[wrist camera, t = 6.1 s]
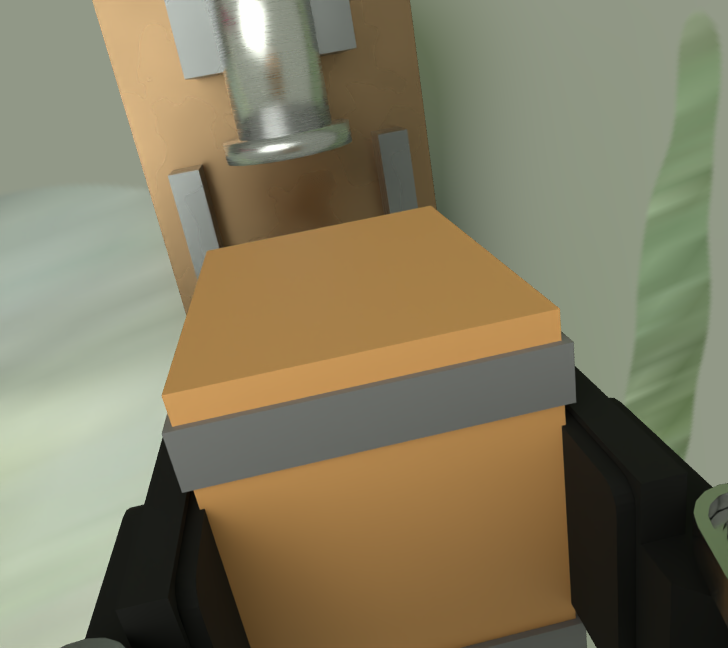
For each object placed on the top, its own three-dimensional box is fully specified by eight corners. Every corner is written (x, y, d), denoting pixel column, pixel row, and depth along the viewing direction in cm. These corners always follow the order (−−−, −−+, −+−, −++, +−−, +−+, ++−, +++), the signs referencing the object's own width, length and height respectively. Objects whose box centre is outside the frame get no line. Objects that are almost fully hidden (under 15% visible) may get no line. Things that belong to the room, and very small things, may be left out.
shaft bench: (460, 439, 29) (510, 530, 23) (244, 489, 28) (239, 597, 22) (390, -85, 21) (440, -148, 15) (89, -34, 21) (20, -80, 15)
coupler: (202, 252, 12) (150, 402, 7) (435, 204, 13) (572, 310, 7) (270, 498, 15) (275, 763, 9) (466, 453, 15) (588, 681, 9)
